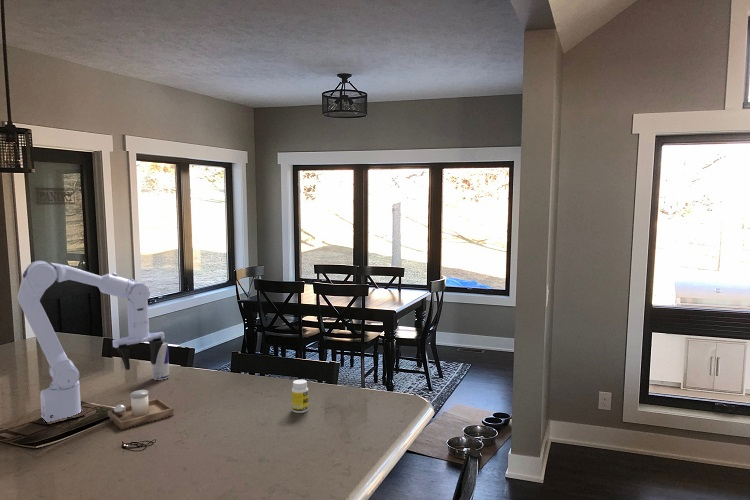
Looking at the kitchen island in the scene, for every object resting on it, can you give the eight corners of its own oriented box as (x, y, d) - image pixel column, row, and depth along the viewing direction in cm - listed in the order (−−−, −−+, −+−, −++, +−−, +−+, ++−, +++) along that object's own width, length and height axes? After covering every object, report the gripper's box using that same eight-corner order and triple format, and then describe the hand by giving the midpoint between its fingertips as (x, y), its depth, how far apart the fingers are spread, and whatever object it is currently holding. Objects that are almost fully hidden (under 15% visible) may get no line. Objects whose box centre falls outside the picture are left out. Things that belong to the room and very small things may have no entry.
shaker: (135, 418, 148) (133, 396, 147) (129, 413, 151) (127, 392, 150) (151, 413, 151) (150, 392, 150) (145, 409, 154) (144, 388, 154)
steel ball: (116, 418, 148) (115, 407, 147) (112, 415, 150) (112, 404, 149) (127, 415, 150) (127, 404, 149) (124, 412, 152) (123, 402, 152)
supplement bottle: (305, 413, 152) (304, 384, 151) (289, 412, 153) (289, 383, 152) (310, 407, 157) (310, 379, 156) (295, 406, 158) (294, 378, 157)
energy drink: (172, 375, 186) (170, 341, 185) (164, 381, 180) (163, 346, 179) (157, 375, 186) (155, 341, 185) (149, 380, 181) (147, 345, 180)
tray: (121, 430, 142) (120, 422, 142) (107, 418, 150) (107, 411, 150) (173, 415, 151) (173, 408, 151) (158, 404, 159) (158, 398, 159)
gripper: (117, 328, 153) (119, 374, 155) (167, 320, 163) (169, 364, 165) (109, 324, 159) (111, 369, 160) (158, 316, 168) (160, 359, 170)
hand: (140, 366), depth 163 cm, fingers open, 7 cm apart
